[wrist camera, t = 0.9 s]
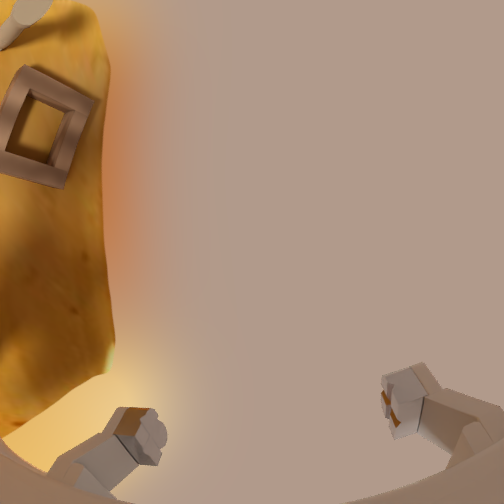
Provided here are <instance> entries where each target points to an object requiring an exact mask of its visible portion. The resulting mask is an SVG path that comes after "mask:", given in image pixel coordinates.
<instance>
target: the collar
mask: <svg viewBox="0 0 504 504" xmlns="http://www.w3.org/2000/svg"><path fill="white" fill-rule="evenodd" d="M26 95H27V96H29V97H31V98H34V99H36V100H38V101H40V102H42V103H45V104H47V105H49V106H51V107H53V108H55V109H58V110H60V111H62V112H64V113H65V114H64V117H63V119H62V122H61V124H60V127H59V129H58V132H57V134H56V137H55V140H54V143H53V146H52V148H51V151H50V154H49V157H48V160H47V164H43V163H40V162H37V161H34V160H31V159H28V158H25V157H22V156H18V155H15V154H12V153H9V152H6V151H5V148H6V145H7V142H8V139H9V137H10V134H11V131H12V129H13V126H14V123H15V121H16V118H17V116H18V113H19V111H20V109H21V106H22V104H23V102H24V100H25V98H26ZM93 104H94V101H93V100H91V99H90V98H88V97H86V96H84V95H82V94H81V93H79V92H77V91H75V90H73V89H71V88H70V87H68V86H66V85H64V84H62V83H60V82H58V81H56V80H54V79H53V78H51V77H49V76H47V75H45V74H43V73H41V72H39V71H37V70H35V69H33V68H31V67H29V66H27V65H25V64H24V65H23V66H22V67H21V68H20V69H19V70H18V71H17V72H16V74H15V76H14V78H13V80H12V82H11V84H10V86H9V88H8V90H7V92H6V94H5V96H4V98H3V101H2V103H1V105H0V173H2V174H6V175H9V176H13V177H17V178H20V179H24V180H28V181H31V182H35V183H39V184H42V185H46V186H49V187H53V188H58V189H64V185H65V182H66V178H67V175H68V171H69V168H70V165H71V162H72V159H73V156H74V153H75V150H76V147H77V144H78V141H79V139H80V136H81V133H82V131H83V128H84V125H85V123H86V120H87V118H88V115H89V113H90V111H91V108H92V106H93Z"/></svg>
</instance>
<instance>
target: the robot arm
mask: <svg viewBox="0 0 504 504" xmlns="http://www.w3.org/2000/svg"><path fill="white" fill-rule="evenodd" d="M381 385H382V387H383V389H384V390H383V391H382V393H381V403H382V409H383V412H384V415H385V417H386V418H387V419H389V420H390V421H389V428H390V430H391V433H392V435H393V438H394V440H395V439H398V438H402V437H405V436H408V435H411V434H414V433H417V432H418V434H419V435H421V436H422V437H424V438H425V439H427V440H428V441H430V442H432V443H433V444H435V445H437V446H438V447H440V448H441V449H443V450H445V451H446V452H448V453H449V454H451V455H452V456H451V458H450V460H449V463H448V465H447V467H446V469H445V470H444V471H441V472H439V473H437V474H434V475H432V476H430V477H427V478H425V479H422V480H420V481H417V482H415V483H412V484H409V485H406V486H403V487H401V488H398V489H395V490H392V491H389V492H385V493H382V494H378V495H375V496H371V497H368V498H364V499H360V500H356V501H352V502H347V503H342V504H504V411H503V410H502V409H501V407H500V406H497V405H494V404H491V403H488V402H485V401H482V400H479V399H476V398H473V397H470V396H467V395H465V394H462V393H459V392H456V391H453V390H451V389H448V388H445V389H442V388H441V386H440V385H439V383H438V382H437V380H436V379H435V377H434V376H433V375H432V373H431V372H430V371H429V369H428V368H427V366H426V365H425V364H424V363H423V362H421V363H418V364H415V365H412V366H410V367H407V368H404V369H401V370H398V371H395V372H392V373H389V374H386V375H383V376H382V379H381ZM157 418H158V414H157V413H156V411H155V410H154V409H151V408H135V407H119V408H117V409H116V411H115V412H114V414H113V416H112V417H111V419H110V420H109V422H108V424H107V425H106V427H105V428H104V430H103V432H102V433H98V434H96V435H94V436H93V437H91V438H89V439H88V440H86V441H84V442H83V443H81V444H80V445H78V446H76V447H74V448H73V449H71V450H69V451H67V452H66V453H64V454H62V455H60V456H59V457H58V458H57V459H56V461H55V462H54V464H53V466H52V467H51V468H50V470H49V472H48V473H47V472H44V471H42V470H40V469H38V468H37V467H35V466H33V465H31V464H30V463H28V462H27V461H25V460H24V459H22V458H21V457H19V456H18V455H17V454H16V453H14V452H13V451H12V450H11V449H10V448H9V447H8V446H7V445H6V444H5V443H4V441H3V440H2V439H1V437H0V504H133V503H128V502H124V501H120V500H117V498H116V497H115V496H113V495H112V494H111V493H110V492H109V491H111V490H112V489H113V488H114V487H115V486H116V485H117V484H119V483H120V482H121V481H122V480H123V479H124V478H125V477H127V476H128V475H129V474H130V473H131V472H132V471H133V470H134V469H135V468H136V467H138V466H139V465H138V464H140V465H151V466H157V465H158V463H159V460H160V458H161V455H162V452H161V450H160V449H161V448H162V447H164V446H165V444H166V441H167V431H166V427H165V426H164V424H163V423H162V422H161V421H159V420H158V419H157Z"/></svg>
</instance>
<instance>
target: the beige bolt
mask: <svg viewBox="0 0 504 504" xmlns="http://www.w3.org/2000/svg"><path fill="white" fill-rule="evenodd" d="M52 2H53V0H17V1H16V3H15V4H14V6H13V9H12V12H11V15H10V16H9V17H8V18H7V20H6V21H5V22H4V23H3V24H2V26H1V27H0V51H1V50H2V49H3V48H6V47H7V46H9V45H10V44H11V43H12V42H13V41H14V40H15V39H16V38H17V37H18V36H19V35H20V33H21V32H22V31H23V30H24V28H28V27H30V26H31V25H33V24H34V23H36V22H37V21H38V20H40V19H41V18H42V17H43V16H44V14H45V13H46V12H47V11H48V9H49V8H50V6H51V5H52Z"/></svg>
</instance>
